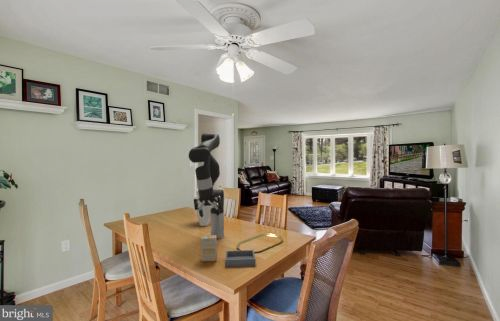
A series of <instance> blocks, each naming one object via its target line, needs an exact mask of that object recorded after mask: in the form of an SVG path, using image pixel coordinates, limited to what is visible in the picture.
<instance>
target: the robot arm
mask: <svg viewBox="0 0 500 321" xmlns="http://www.w3.org/2000/svg"><path fill="white" fill-rule="evenodd" d="M200 142H201V143H199V145H197V146H194V147H192V148H191V149H190V150H189V152H188V159H189V161H190V162H191V163H195V164H197V163H203V165H201V166H198V167H196V168H195V171H194V172H195V177H196V187H197V189H198V192H199V198H197V197H198V196H197V197H195V198H193V207H194V210H195V211H196V210H199V215H200V216H201V217H203V210H202V207H203V205H204V206H211V205H212V206H213V208H211V216H210V235H217V239H219V240H220V239H222V238H224V237H225V215H224V214H225V213H224V212H225V210H224V209H225V208H224V207H225V206H224V205H225V204H224V203H225V201H224V200H225V191H224V190H223V189H214V186H215V183H216V182H217V180H218V179H219V177H220V176H221V175H220V174H221V172H220V164H219V162H218V161H217V160H216V158H215V157H214V156H213V155H212V153H211V152H212V151H214V150H215V149H217V148H218V147H219V146H220V143H221V138H220V135H219V134H218V133H216V132H206V133H204V132H203V133H202V134H201V135H200ZM198 201H200V202H201V205H200V207H198Z"/></svg>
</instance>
